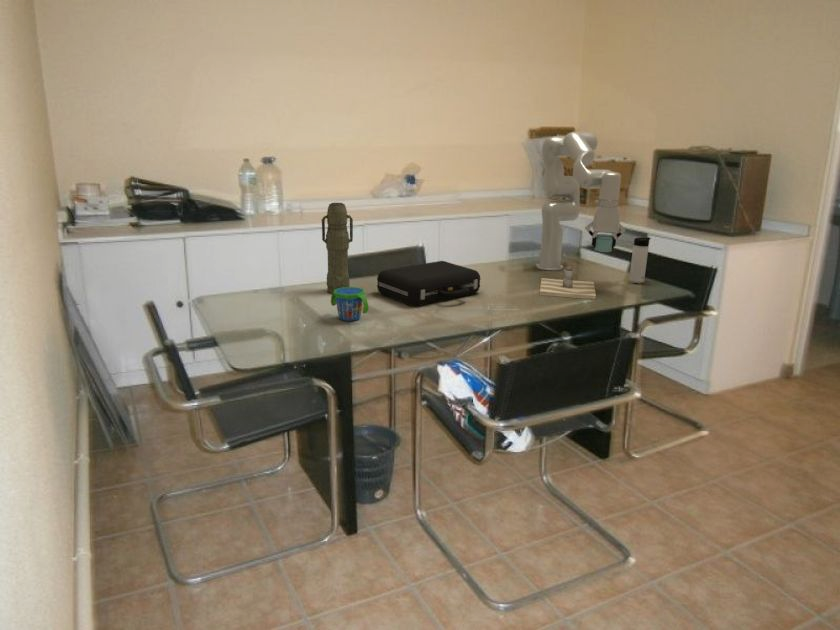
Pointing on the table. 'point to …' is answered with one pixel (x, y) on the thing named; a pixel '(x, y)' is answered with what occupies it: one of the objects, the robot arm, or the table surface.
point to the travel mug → (639, 260)
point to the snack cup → (349, 302)
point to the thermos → (337, 245)
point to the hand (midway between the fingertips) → (603, 247)
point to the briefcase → (428, 282)
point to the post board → (567, 287)
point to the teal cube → (604, 243)
